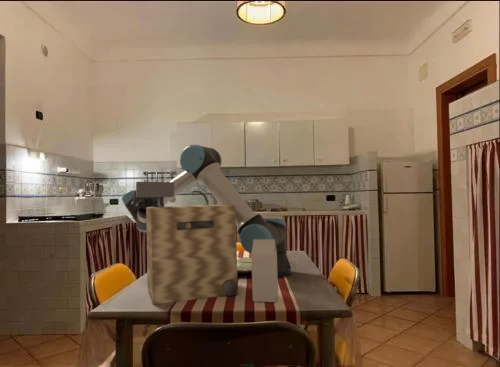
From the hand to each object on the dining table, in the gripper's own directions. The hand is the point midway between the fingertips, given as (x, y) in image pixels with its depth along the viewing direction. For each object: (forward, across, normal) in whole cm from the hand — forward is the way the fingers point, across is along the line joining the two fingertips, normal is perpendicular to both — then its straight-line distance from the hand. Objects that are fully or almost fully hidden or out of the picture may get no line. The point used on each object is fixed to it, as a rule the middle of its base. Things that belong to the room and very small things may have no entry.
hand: (150, 183), depth 140 cm
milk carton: (+11, -33, -50) cm, 61 cm away
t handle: (+1, 0, -6) cm, 6 cm away
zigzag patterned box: (-6, -13, -41) cm, 43 cm away
